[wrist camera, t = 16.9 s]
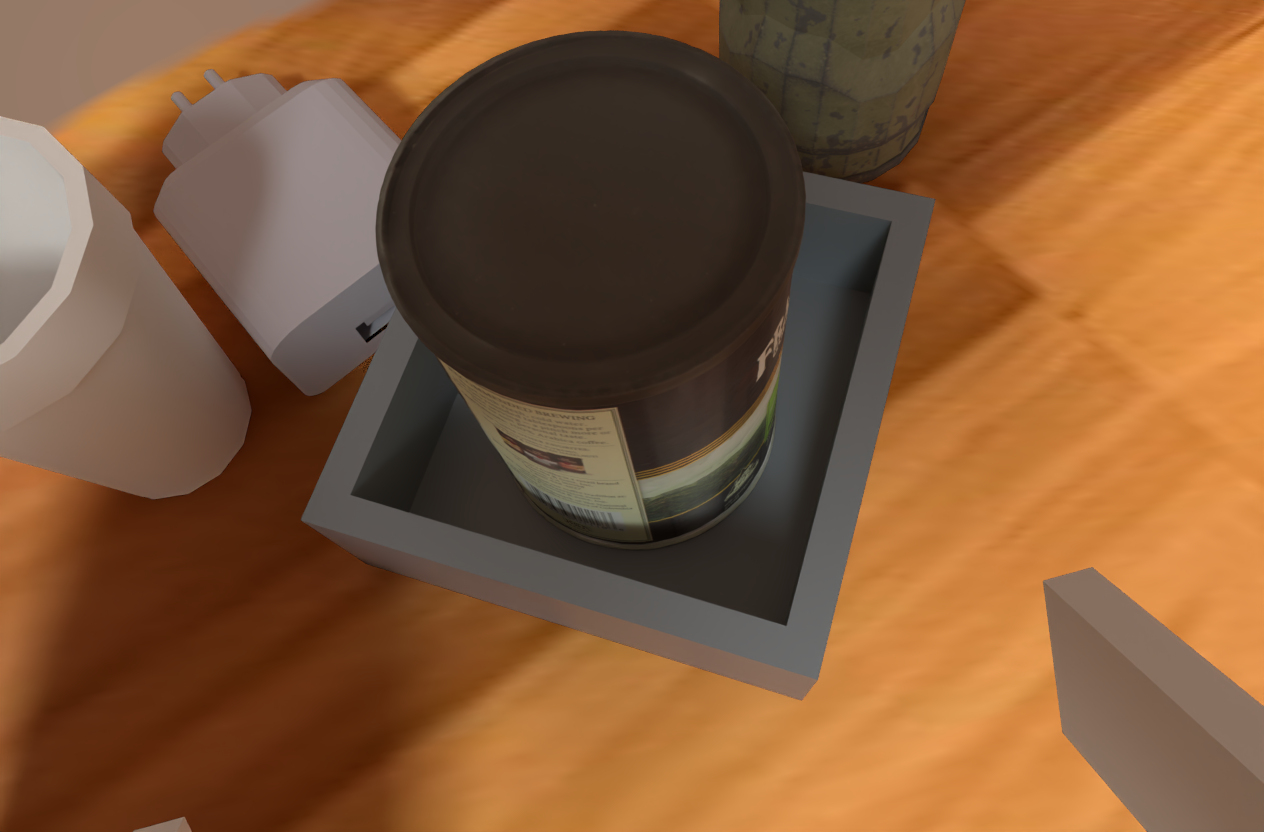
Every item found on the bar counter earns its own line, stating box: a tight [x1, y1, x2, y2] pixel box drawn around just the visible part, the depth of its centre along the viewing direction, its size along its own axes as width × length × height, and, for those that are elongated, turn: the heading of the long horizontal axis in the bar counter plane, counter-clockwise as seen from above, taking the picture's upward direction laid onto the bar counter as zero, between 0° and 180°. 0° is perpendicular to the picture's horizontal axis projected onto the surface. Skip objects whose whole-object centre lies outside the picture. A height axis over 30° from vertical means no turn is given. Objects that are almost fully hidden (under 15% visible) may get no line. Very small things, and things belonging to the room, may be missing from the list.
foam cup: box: [0, 116, 252, 499], centre depth 33 cm, size 10×9×13 cm
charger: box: [153, 69, 402, 396], centre depth 40 cm, size 5×9×15 cm
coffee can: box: [375, 31, 806, 550], centre depth 29 cm, size 10×10×14 cm
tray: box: [301, 172, 935, 700], centre depth 34 cm, size 16×16×6 cm
